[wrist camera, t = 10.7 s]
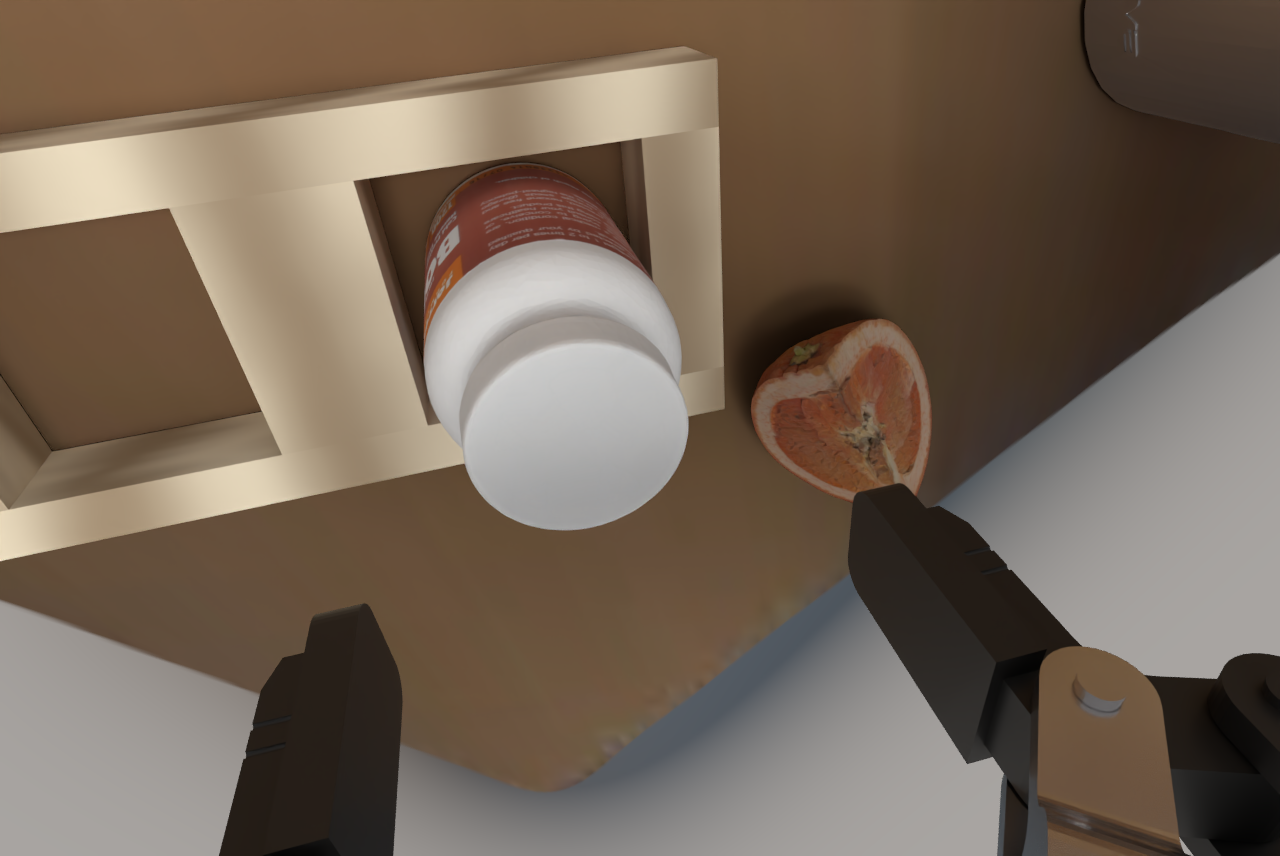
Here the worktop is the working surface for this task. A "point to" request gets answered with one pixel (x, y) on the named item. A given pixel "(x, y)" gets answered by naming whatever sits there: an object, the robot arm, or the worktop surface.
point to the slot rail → (340, 271)
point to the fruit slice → (848, 410)
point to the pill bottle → (549, 351)
